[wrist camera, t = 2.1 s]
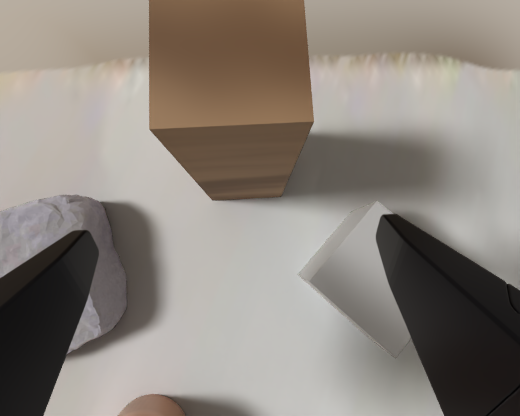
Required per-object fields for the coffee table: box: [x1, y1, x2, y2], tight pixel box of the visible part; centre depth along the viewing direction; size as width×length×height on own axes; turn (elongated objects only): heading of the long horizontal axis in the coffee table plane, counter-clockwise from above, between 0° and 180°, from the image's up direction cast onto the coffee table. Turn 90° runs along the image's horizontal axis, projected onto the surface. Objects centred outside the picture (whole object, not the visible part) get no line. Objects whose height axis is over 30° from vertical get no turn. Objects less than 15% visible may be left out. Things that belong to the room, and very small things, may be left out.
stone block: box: [0, 195, 127, 354], centre depth 20 cm, size 12×5×10 cm
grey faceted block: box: [298, 201, 411, 358], centre depth 19 cm, size 6×6×5 cm
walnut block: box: [149, 0, 314, 200], centre depth 16 cm, size 5×5×13 cm
